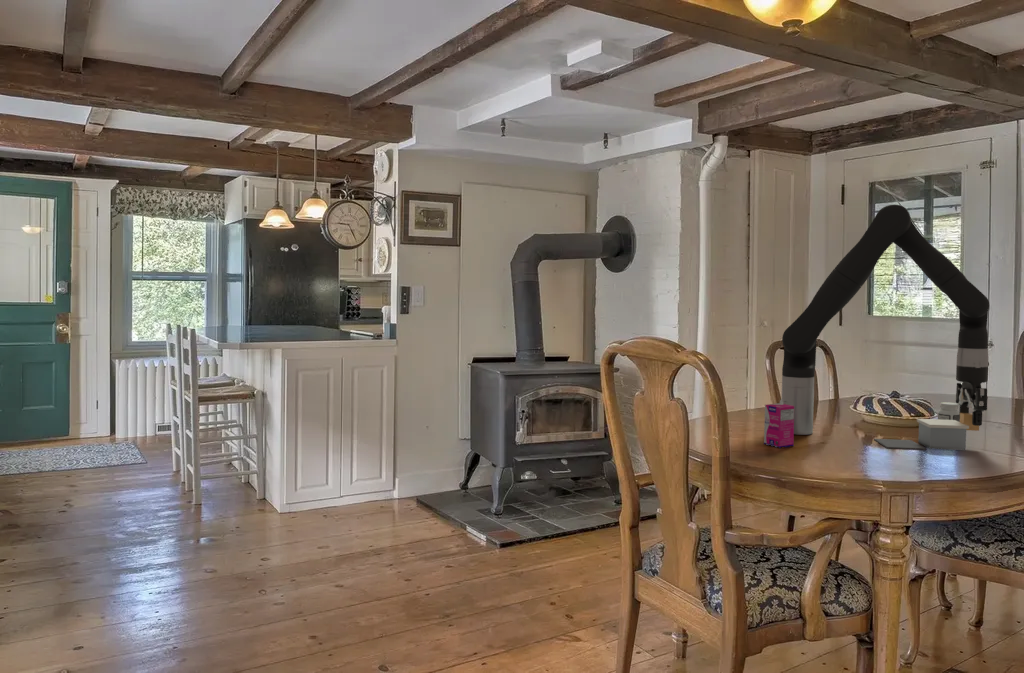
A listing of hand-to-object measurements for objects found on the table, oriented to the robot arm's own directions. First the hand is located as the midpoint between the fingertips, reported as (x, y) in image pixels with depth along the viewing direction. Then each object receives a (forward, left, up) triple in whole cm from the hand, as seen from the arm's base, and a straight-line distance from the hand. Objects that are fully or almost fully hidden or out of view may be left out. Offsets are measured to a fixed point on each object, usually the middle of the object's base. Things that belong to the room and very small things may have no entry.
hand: (970, 422), depth 213 cm
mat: (-18, 0, -7) cm, 20 cm away
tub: (-7, 0, -7) cm, 10 cm away
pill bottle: (+1, +17, -7) cm, 19 cm away
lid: (-5, 0, -2) cm, 6 cm away
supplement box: (-52, -8, -7) cm, 53 cm away
